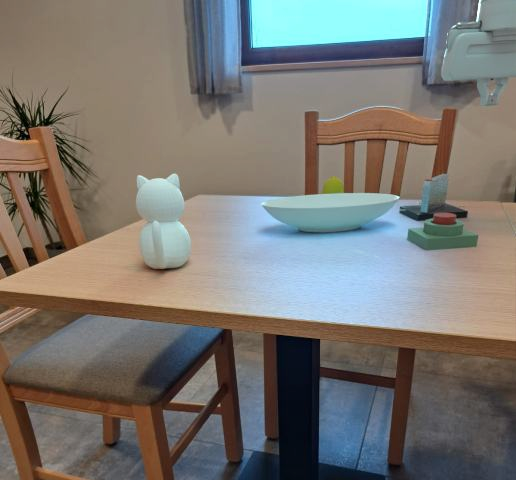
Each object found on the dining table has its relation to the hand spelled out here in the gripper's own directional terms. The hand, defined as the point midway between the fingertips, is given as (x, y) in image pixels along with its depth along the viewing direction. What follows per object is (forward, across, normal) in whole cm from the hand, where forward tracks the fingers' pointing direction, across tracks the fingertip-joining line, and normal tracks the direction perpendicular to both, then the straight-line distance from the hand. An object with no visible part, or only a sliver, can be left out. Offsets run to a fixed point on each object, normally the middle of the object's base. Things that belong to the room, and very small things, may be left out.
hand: (488, 105), depth 91 cm
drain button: (+19, -13, -13) cm, 27 cm away
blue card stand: (+22, -3, +10) cm, 24 cm away
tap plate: (+23, -3, +10) cm, 25 cm away
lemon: (+23, -23, +25) cm, 41 cm away
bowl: (+23, -30, +4) cm, 38 cm away
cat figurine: (+22, -66, -13) cm, 70 cm away
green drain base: (+23, -14, -13) cm, 29 cm away
